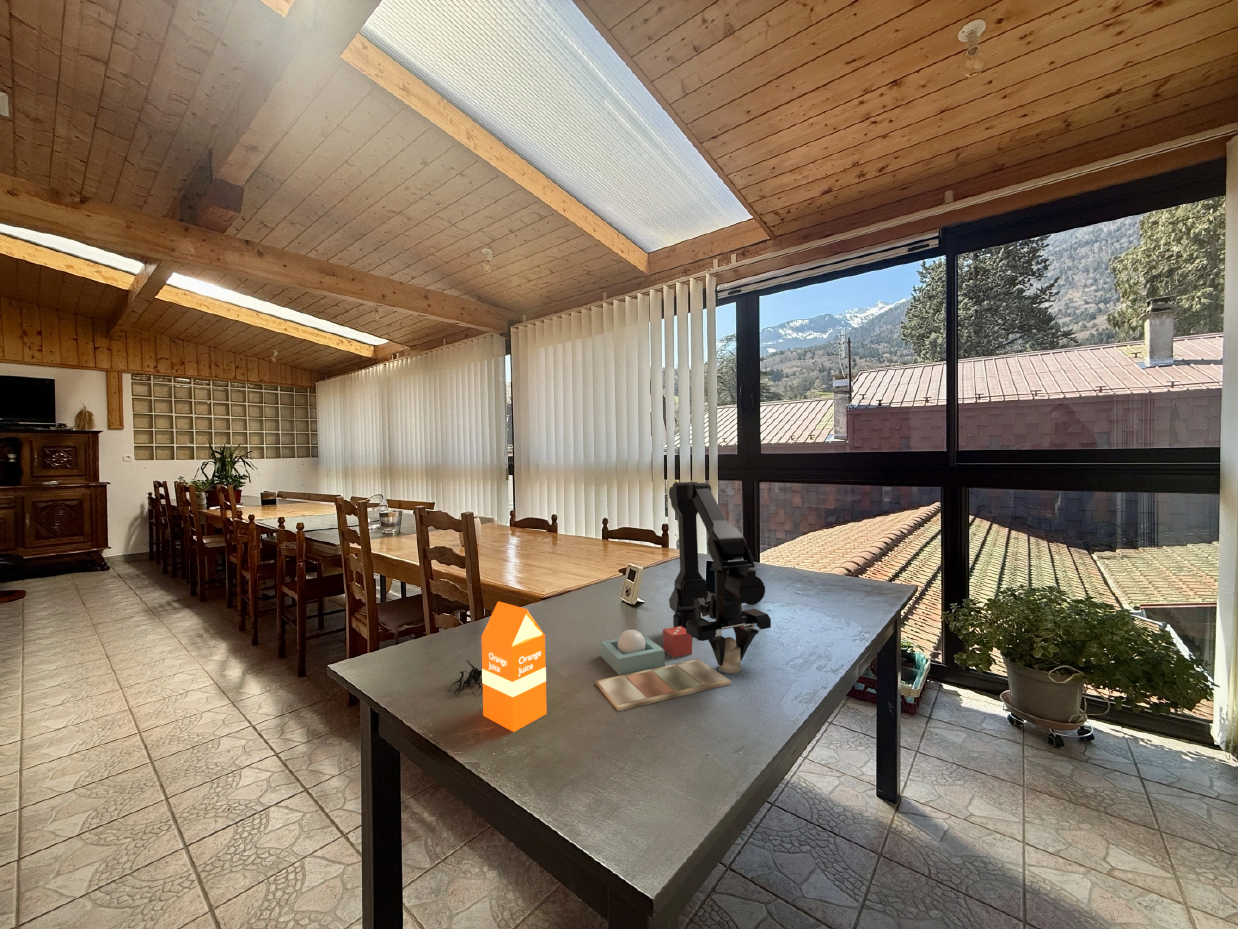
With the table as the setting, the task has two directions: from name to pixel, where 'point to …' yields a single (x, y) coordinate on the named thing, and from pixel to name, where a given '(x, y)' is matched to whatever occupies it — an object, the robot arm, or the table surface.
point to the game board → (660, 684)
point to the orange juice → (513, 668)
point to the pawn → (731, 657)
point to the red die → (677, 641)
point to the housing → (632, 657)
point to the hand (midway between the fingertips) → (729, 663)
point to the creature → (470, 679)
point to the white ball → (631, 642)
